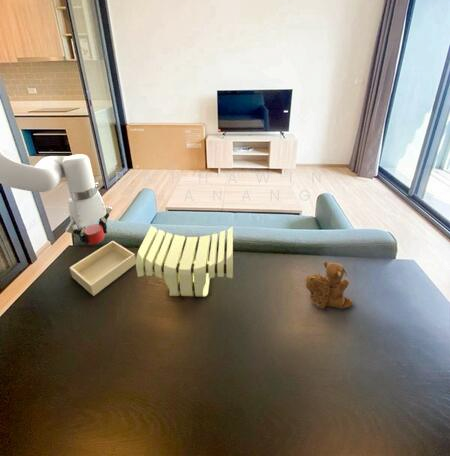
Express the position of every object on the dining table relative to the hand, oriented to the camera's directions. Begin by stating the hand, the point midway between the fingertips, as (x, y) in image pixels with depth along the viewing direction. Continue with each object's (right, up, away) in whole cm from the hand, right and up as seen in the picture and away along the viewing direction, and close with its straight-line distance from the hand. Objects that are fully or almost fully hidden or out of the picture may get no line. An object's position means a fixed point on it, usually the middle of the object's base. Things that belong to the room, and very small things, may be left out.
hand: (94, 236), depth 86 cm
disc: (0, -1, 0) cm, 1 cm away
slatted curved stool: (+34, -17, +2) cm, 38 cm away
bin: (0, -15, +7) cm, 17 cm away
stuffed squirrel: (+79, -19, -6) cm, 82 cm away
